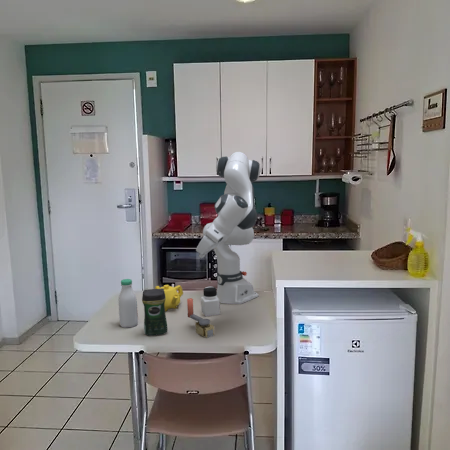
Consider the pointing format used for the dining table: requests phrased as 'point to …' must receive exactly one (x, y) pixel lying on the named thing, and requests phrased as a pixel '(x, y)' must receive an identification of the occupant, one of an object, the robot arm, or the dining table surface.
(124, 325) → the milk bottle
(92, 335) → the dining table surface
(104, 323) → the dining table surface
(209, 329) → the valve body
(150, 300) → the coffee jar
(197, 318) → the lever
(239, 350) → the dining table surface
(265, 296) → the dining table surface
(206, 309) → the medicine bottle
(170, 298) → the teapot
